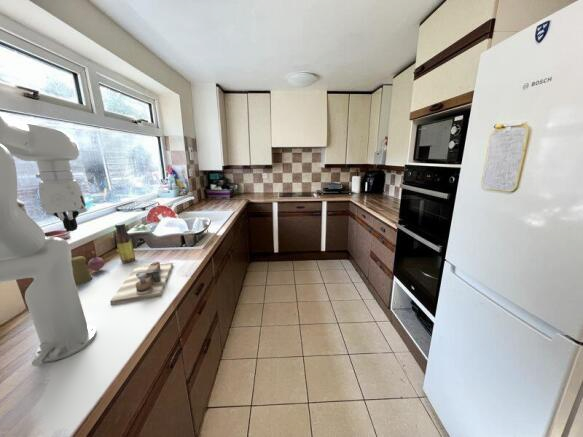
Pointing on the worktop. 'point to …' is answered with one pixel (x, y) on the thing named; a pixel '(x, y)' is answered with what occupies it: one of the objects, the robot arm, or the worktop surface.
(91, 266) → the vegetable
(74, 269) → the olive green tapered block
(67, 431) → the worktop surface
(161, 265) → the pivot board
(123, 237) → the sauce bottle
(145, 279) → the link
